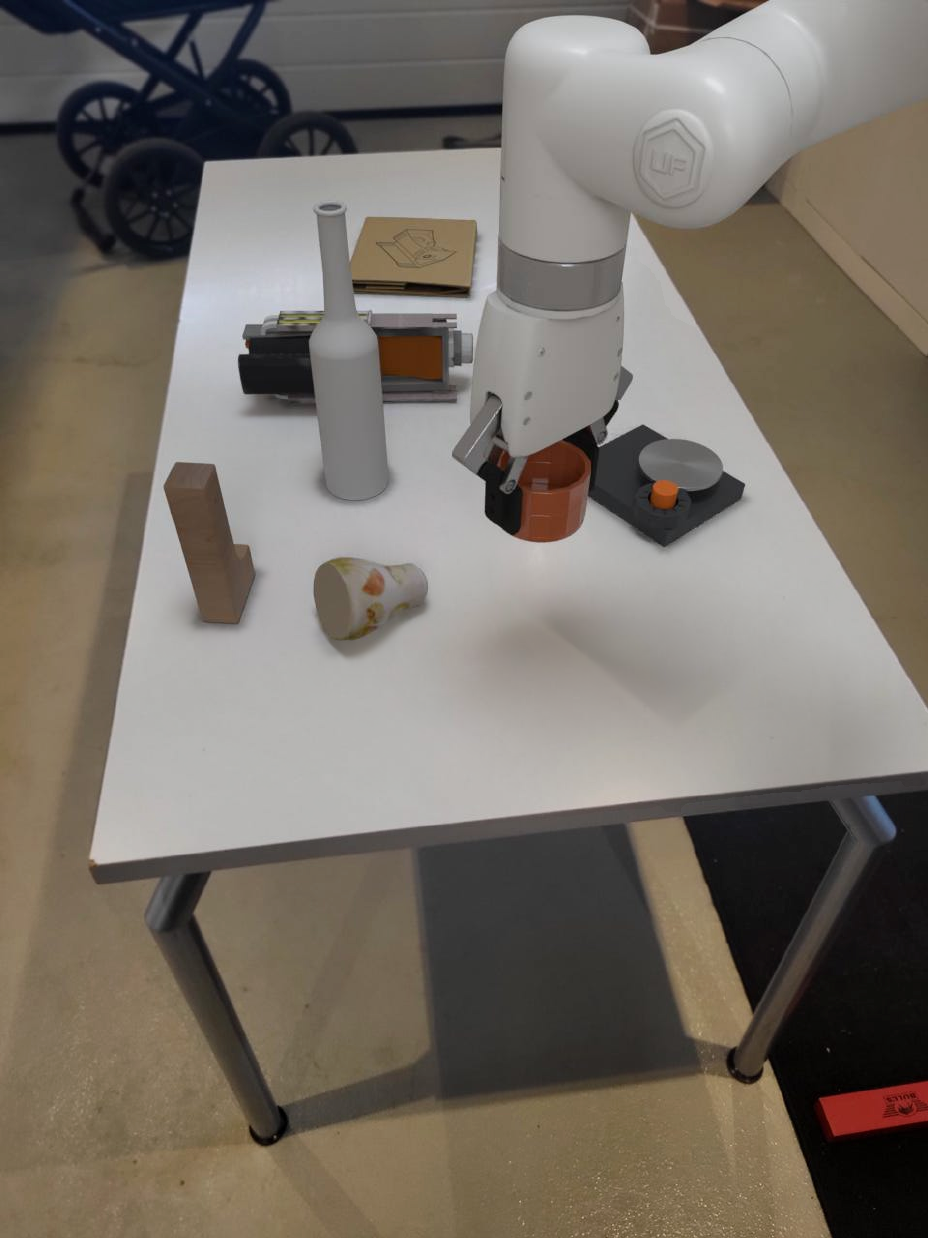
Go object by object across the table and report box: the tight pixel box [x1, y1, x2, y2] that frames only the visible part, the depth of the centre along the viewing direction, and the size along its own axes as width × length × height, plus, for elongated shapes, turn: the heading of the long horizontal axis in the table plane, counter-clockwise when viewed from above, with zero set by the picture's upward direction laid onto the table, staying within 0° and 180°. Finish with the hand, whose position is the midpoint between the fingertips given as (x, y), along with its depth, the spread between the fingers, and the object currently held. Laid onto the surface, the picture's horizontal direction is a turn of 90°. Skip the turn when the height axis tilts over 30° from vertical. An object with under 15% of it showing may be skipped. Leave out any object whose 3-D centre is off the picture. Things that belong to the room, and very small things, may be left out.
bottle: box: [309, 199, 389, 501], centre depth 83 cm, size 7×7×28 cm
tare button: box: [650, 480, 678, 509], centre depth 85 cm, size 2×2×2 cm
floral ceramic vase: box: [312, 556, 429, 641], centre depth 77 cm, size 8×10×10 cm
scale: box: [588, 423, 746, 547], centre depth 91 cm, size 14×13×4 cm
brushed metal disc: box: [638, 438, 724, 491], centre depth 89 cm, size 8×8×1 cm
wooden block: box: [162, 461, 256, 624], centre depth 75 cm, size 7×3×15 cm, turn 176°
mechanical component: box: [237, 309, 474, 404], centre depth 100 cm, size 9×26×10 cm, turn 91°
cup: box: [497, 440, 591, 544], centre depth 65 cm, size 7×7×4 cm
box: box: [350, 216, 478, 298], centre depth 129 cm, size 21×18×2 cm
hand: (540, 502), depth 65 cm, fingers closed on cup, 6 cm apart
